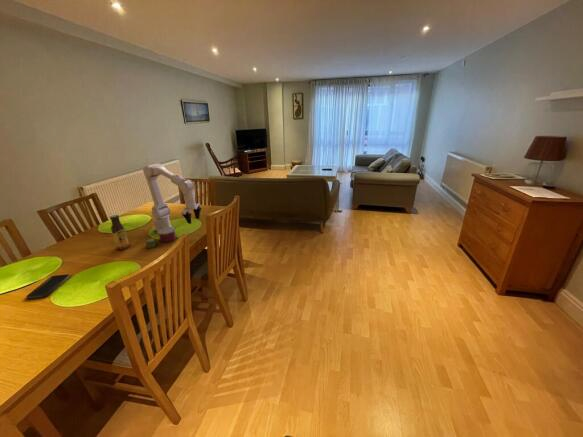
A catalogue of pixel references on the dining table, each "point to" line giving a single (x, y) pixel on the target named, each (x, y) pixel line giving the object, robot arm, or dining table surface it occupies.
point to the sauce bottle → (119, 233)
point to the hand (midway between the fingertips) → (193, 221)
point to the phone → (48, 287)
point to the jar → (167, 234)
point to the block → (151, 243)
